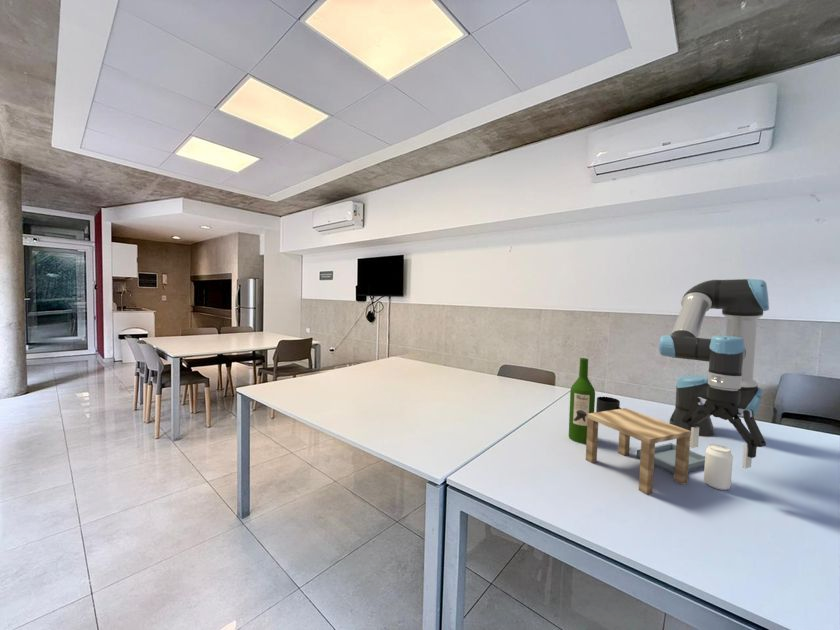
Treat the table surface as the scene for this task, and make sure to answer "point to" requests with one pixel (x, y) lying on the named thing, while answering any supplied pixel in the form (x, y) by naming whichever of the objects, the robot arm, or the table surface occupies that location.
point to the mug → (607, 404)
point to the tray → (673, 458)
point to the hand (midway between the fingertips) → (718, 456)
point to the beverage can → (718, 467)
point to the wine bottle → (581, 404)
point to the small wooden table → (648, 434)
